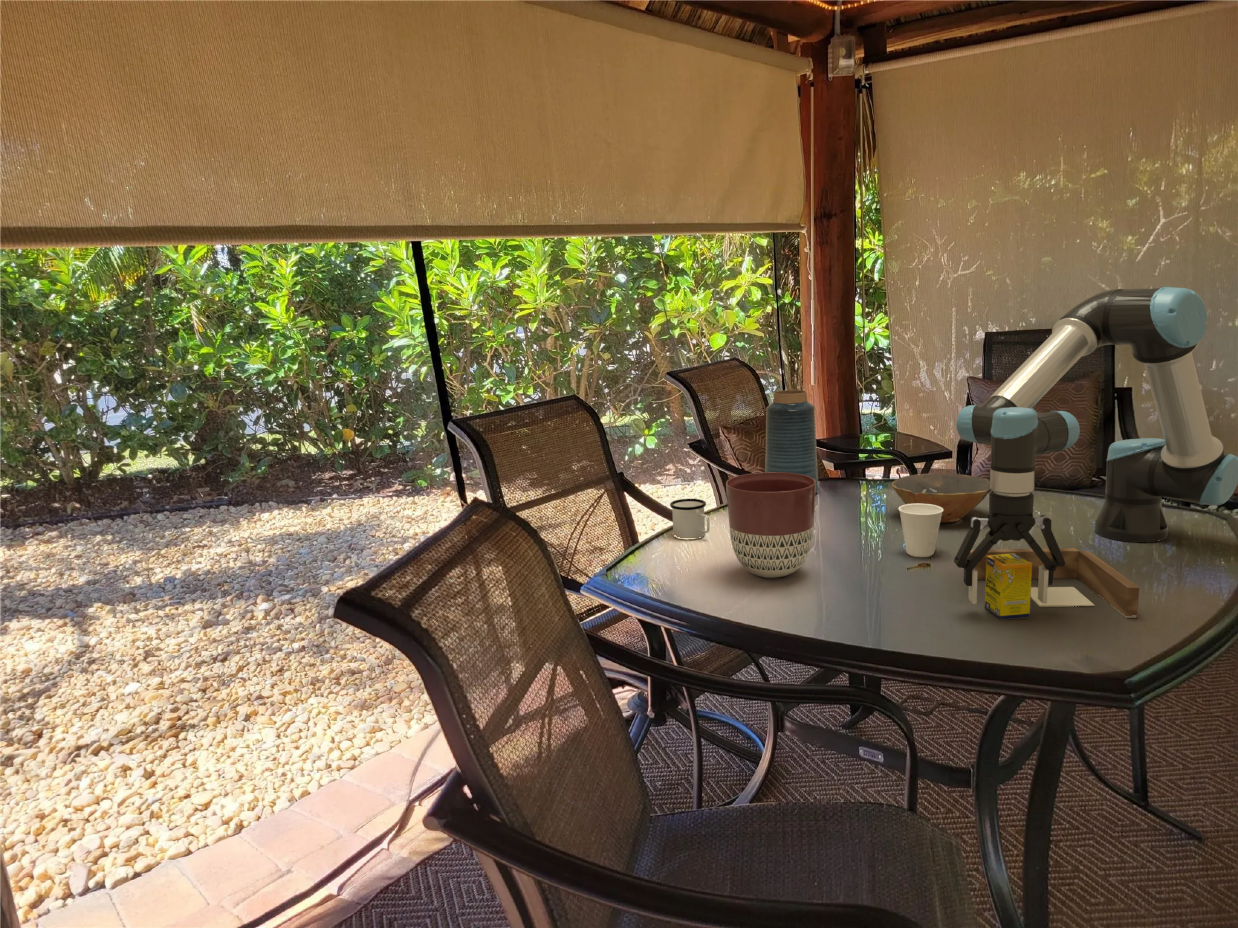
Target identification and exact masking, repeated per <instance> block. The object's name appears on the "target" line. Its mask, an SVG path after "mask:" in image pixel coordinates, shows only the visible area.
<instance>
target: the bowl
mask: <svg viewBox="0 0 1238 928" xmlns="http://www.w3.org/2000/svg"><path fill="white" fill-rule="evenodd" d="M891 486H892V488H893V490H894V491H895V493H896V494H897V495H898V497H899V498H900V499H901V501H902V502H903V503H904V505H906V504H915V503H921V504H932V505H936V506H939V507H941V508H943V510H944V511H943V512H942V516H941V521H940V523H955V522H959V521H960V520H961V519H962V518H964V517H965V516H966V515H967V514H969V513H970V512H972V511H973V510H974V509H975V508H976V507H977V506H978V505H979V504H980V503H981V502H982V501H983V500H984V499H985V498H986V497H987V495H989V493H990V492H991V491H992V489H990V479H987V478H984V477H979V476H974V475H968V474H960V473H918V474H910V475H906V476H902V477H899V478H897V479H895V480H894V481H892V483H891Z"/></svg>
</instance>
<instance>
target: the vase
mask: <svg viewBox="0 0 1238 928" xmlns="http://www.w3.org/2000/svg"><path fill="white" fill-rule="evenodd" d="M772 399H773V400H772V403H770V404H769V405H768V406H766V408H765V411H766V414H765V416H766V417H765V420H766V421H765V459H764V462H765V465H764V468H765V469H764V472H784V473H795V474H801V475H805V476H809V477H811V478H813V479H814V480H815V481H816V490H815V495H816V494H817V493H818V492H819V475H818V474H819V469H818V458H817V456H818V455H817V437H816V436H817V433H816V412H815V411H816V407H815V405H814V404H812V403H811V402H809V400H808V395H807V391H806V390H801V389H788V390H787V389H786V390H785V389H784V390H778V391H774V392H773V398H772Z"/></svg>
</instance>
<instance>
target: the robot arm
mask: <svg viewBox="0 0 1238 928" xmlns="http://www.w3.org/2000/svg"><path fill="white" fill-rule="evenodd" d="M1207 312H1208V311H1207V308H1206V305H1205V302H1204V301H1203V299H1202V297H1201V296H1200V294H1198V293H1197V292H1196V291H1194V290H1193V289H1189V288H1186V287H1173V286H1164V287H1161V288H1155V287H1153V288H1115V289H1114V288H1113V289H1109V290H1105V291H1102V292H1099V293H1096V294H1095V295H1092V296H1089V297H1088V298H1087V299H1084V300H1083V301H1081V302H1080V303H1078V304H1076V305H1074V307H1072V308H1071V309H1070V310H1068V311H1067V312H1066V313H1065V314H1064V315H1062V317H1060V318H1059V319H1058V321H1056V322H1055V323H1054V324H1053V327H1052V330H1051V334H1050V335H1049V337H1048V338H1047V339H1046V340H1045V341H1043V343H1041V345H1040V346H1039V347H1037V349H1036V350H1034V352H1033V353H1031V355H1030V356H1028V357H1027V359H1025V361H1024V362H1023V363H1022V364H1020V366H1019V367H1018V368H1017V369H1016V370H1015V371H1014V372H1013V373H1012V374H1011V375H1010V376H1009V377H1008V378H1007V379H1006V380H1004V382H1003V383H1002V384H1001V386H999V387H998V388H997V390H995V391H994V393H993V394H991V396H990V397H988V398H987V400H985V402H984V403H982V405H979V404H974V405H967V406H965V407H963V408H962V409H961V410H960V411H959V413H958V415H957V417H956V422H955V423H956V424H955V425H956V431H957V433H958V436H959V437H960V438H961V439H962V440H964V441H966V442H971V443H976V444H979V445H988V446H991V447H990V453H991V454H990V474H989V480H990V489H992V490H991V491H990V492H989V493H988V495H989V496H988V498H989V499H988V515H987V517H985V518H982V517H981V518H979V517H977V516H971V517H970V521H969V529H968V531H967V532H966V534H965V537H964V539H963V541H962V543H961V545H960V547H959V548H958V551H957V553H956V555H955V556H954V559H953V562H954V564H955V565H956V567H957V568H959V569H963V582H964V584H965V586H966V587H968V596H967V597H968V601H970V603H971V604H972V605H977V599H978V597H977V596H978V595H977V594H978V579H977V572H978V571H977V570H976V569H975V566H976V565H977V564H978V563H979V562H980V561H981V559H982V558H983V557H984V556H985V555H986V554H987V552H988V551H989V550H990V549H993V547H994V545H996V544H998V542H999V541H1001V542H1009V541H1015V542H1020V541H1021V540H1024V541H1025V542H1026V543H1027V545H1028V546H1029V547H1030V549H1032V550H1033V551H1034V552H1035V554H1036V555H1037V556H1038V558H1039V559H1040V560H1041V561H1042V563H1043V564H1044V566H1039V579H1038V583H1037V584H1038V585H1037V587H1038V599H1039V600H1040V601H1041V602H1042V603H1047V593H1048V587H1049V586H1053V584H1054V578H1053V576H1054V571H1055V570H1056V569H1057V567H1059V566H1064V565H1065V561H1064V558H1063V556H1062V554H1061V551H1060V549H1059V548H1060V547H1059V545H1058V541H1057V539H1056V537H1055V534H1054V533H1053V530H1052V519H1051V518H1049V516H1046V515H1045V514H1041V515H1040V516H1037V517H1034V515H1033V514H1034V501H1035V499H1034V498H1035V494H1033V492H1034V491H1035V477H1036V474H1035V473H1036V457H1037V456H1040V455H1041V456H1042V455H1047V454H1050V453H1058V452H1062V451H1064V450H1066V449H1069V448H1071V447H1073V446H1074V445H1075V444H1076V443H1077V441H1078V439H1079V438H1080V433H1081V429H1080V424H1079V421H1078V420H1077V418H1076V417H1075V416H1074V415H1073V414H1072V413H1070V412H1068V411H1065V410H1050V411H1049V412H1040V411H1036V410H1035V409H1034V406H1035V405H1037V403H1038V402H1039V401H1040V400H1041V399H1042V398H1043V397H1044V396H1045V395H1046V394H1047V393H1048V392H1049V391H1050V390H1051V389H1052V387H1054V386H1055V385H1056V383H1057V382H1059V380H1060V379H1062V377H1063V376H1064V375H1066V373H1067V372H1068V371H1069V370H1070V369H1071V368H1072V367H1073V366H1074V365H1075V364H1076V363H1077V362H1078V361H1079V360H1080V359H1081V358H1082V357H1085V356H1088V355H1090V354H1092V353H1093V352H1095V350H1096V349H1097V348H1100V347H1102V346H1107V345H1108V346H1109V345H1115V346H1120V345H1121V346H1129V347H1130V350H1131V354H1132V356H1133V359H1134V360H1135V361H1136V362H1138V363H1140V364H1143V365H1144V368H1145V373H1146V376H1147V380H1148V383H1149V387H1150V391H1151V395H1152V398H1153V402H1154V405H1155V410H1156V414H1157V416H1158V421H1159V424H1160V428H1161V431H1162V436H1163V438H1157V437H1156V438H1155V437H1148V438H1147V437H1145V438H1141V437H1140V438H1131V439H1123V440H1117V441H1115V442H1112V443H1111V444H1110V445H1109V447H1108V451H1107V457H1106V471H1105V472H1106V473H1105V474H1106V476H1105V494H1104V502H1103V504H1102V505H1101V508H1100V511H1099V513H1098V515H1097V517H1096V520H1095V523H1094V532H1095V533H1096V534H1098V535H1100V536H1101V537H1104V538H1107V539H1111V540H1114V541H1115V540H1117V541H1123V542H1132V543H1153V542H1155V541H1156V542H1159V541H1158V540H1161V541H1163V540H1162V539H1164V538H1166V537H1167V536H1168V537H1169V535H1168V534H1169V525H1168V522H1167V519H1166V515H1165V513H1164V510H1163V506H1162V499H1163V498H1165V499H1171V500H1175V501H1182V502H1188V503H1192V504H1198V505H1200V506H1201V505H1209V506H1214V507H1215V506H1221V505H1223V504H1225V503H1226V502H1227V501H1229V499H1230V498H1231V497H1232V495H1233V494H1234V493H1235V490H1236V488H1237V486H1238V456H1237V455H1234V454H1232V453H1229V454H1226V453H1225V449H1224V445H1223V443H1222V441H1221V440H1220V439H1219V438H1217V437H1215V436H1213V434H1212V431H1211V427H1210V426H1211V425H1210V422H1209V418H1208V414H1207V410H1206V406H1205V401H1204V397H1203V394H1202V389H1201V384H1200V381H1199V376H1198V374H1197V367H1196V364H1195V361H1194V356H1193V352H1194V351H1195V350H1196V349H1197V348H1198V345H1199V343H1200V342H1201V341H1202V339H1203V338H1204V335H1205V334H1206V331H1207V326H1208V325H1207V323H1206V321H1208V313H1207ZM1035 525H1036V526H1037V528H1039V529H1040V532H1041V533H1042V536H1043V538H1044V541H1045V544H1046V545H1047V548H1049V550H1050V553H1051V555H1052V557H1053V559H1051V560H1050V559H1049V557H1048V556H1047V555H1046V554H1045V552H1044V551H1043V550H1042V549H1043V548H1042V547H1041V546H1040V545H1039V544H1038V543H1037V541H1036V540H1035V538H1034V537H1033V535H1032V534H1031V533H1030V531H1031V530H1032V529H1033V527H1034V526H1035ZM986 526H988V528H989V530H988V531H987V532H986V533H985V536H984V538H983V539H982V540H981V541H980V543H979V544H978V545H977V546H976V548H974V545H975V543H976V541H977V540H978V537H979V535H980V532H981V531H982V530H984V528H985V527H986ZM1168 537H1167V538H1168ZM1167 538H1166V539H1167ZM1164 540H1165V539H1164ZM973 548H974V549H973ZM971 550H974V551H973V552H972V553H971V554H970V552H971ZM969 554H970V556H969ZM968 556H969V557H968Z"/></svg>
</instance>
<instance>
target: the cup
mask: <svg viewBox="0 0 1238 928" xmlns="http://www.w3.org/2000/svg"><path fill="white" fill-rule="evenodd" d="M898 511H899V515H900V521H901V527H902V534H903V540H904V546H905V553H906V554H908V555H909V556H911V557H915V558H928V557H931V556H932V555H934V553H935V549H936V543H937V538H938V533H939V530H940V525H941V522H940V521H941V516H942V512H943V511H944V510H943V508H941V507H939V506H936V505H932V504H921V503H915V504H903V505H900V506H899V507H898Z"/></svg>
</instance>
